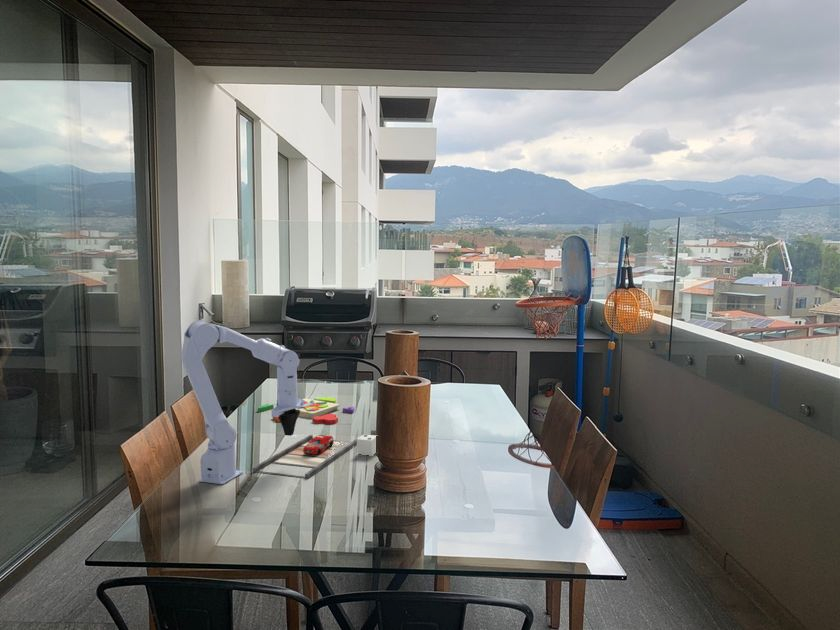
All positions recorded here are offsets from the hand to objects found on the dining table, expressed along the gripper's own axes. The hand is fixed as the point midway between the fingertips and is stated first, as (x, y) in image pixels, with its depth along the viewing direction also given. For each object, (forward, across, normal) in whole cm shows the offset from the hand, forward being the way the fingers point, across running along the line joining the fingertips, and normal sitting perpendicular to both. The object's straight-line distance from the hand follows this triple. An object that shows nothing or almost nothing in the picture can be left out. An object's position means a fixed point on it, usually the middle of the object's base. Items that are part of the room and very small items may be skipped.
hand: (289, 434), depth 185 cm
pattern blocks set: (+9, +54, +26) cm, 61 cm away
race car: (+8, +13, -3) cm, 16 cm away
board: (+8, +6, -3) cm, 11 cm away
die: (+8, +15, -19) cm, 25 cm away
